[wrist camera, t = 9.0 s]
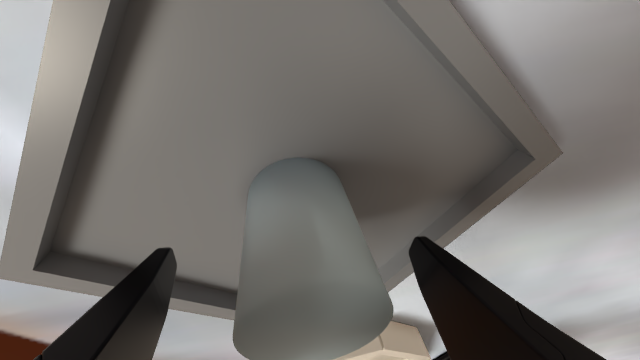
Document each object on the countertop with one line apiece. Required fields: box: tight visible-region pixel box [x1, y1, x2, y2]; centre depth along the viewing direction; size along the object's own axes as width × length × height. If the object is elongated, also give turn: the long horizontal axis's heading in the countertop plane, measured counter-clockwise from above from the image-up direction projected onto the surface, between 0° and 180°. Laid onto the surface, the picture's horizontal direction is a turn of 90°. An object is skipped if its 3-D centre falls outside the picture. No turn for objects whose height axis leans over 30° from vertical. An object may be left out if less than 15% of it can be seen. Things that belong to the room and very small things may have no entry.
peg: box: [233, 157, 393, 360], centre depth 9 cm, size 4×4×6 cm
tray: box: [0, 0, 563, 320], centre depth 12 cm, size 18×18×2 cm
